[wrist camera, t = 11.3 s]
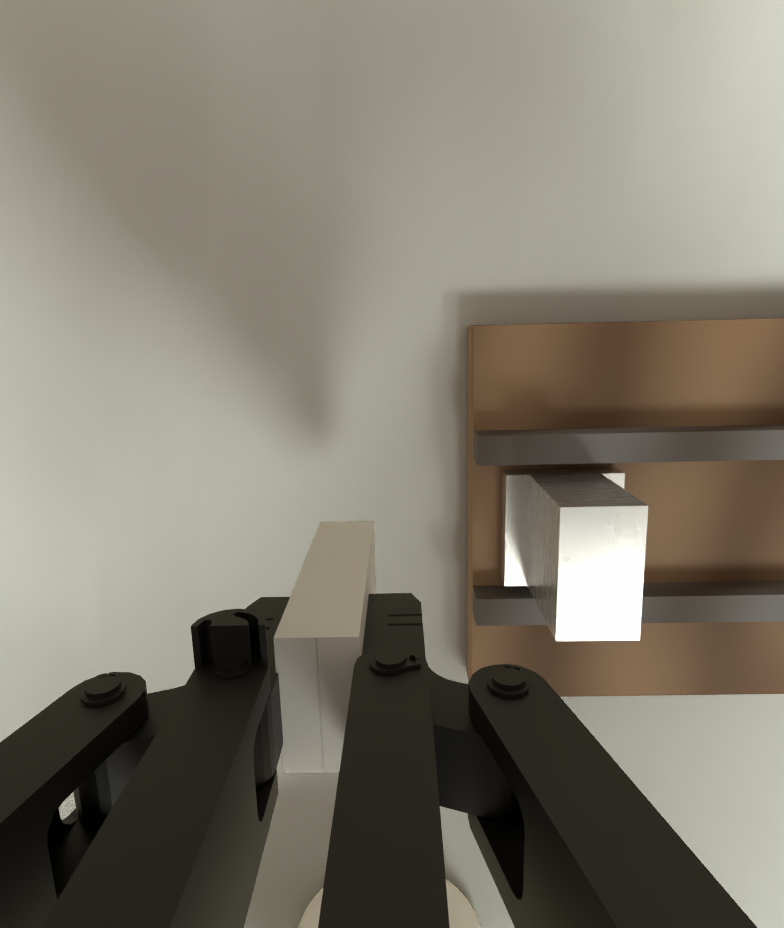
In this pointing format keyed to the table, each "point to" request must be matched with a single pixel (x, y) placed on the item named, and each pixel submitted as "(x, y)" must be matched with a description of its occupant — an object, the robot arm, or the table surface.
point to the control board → (640, 495)
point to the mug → (459, 910)
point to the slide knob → (576, 549)
